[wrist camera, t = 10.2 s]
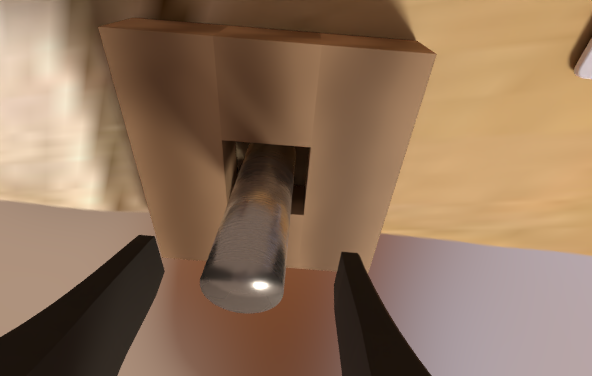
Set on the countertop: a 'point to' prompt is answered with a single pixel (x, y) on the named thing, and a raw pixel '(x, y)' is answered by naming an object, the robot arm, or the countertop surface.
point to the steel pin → (253, 234)
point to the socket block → (266, 126)
